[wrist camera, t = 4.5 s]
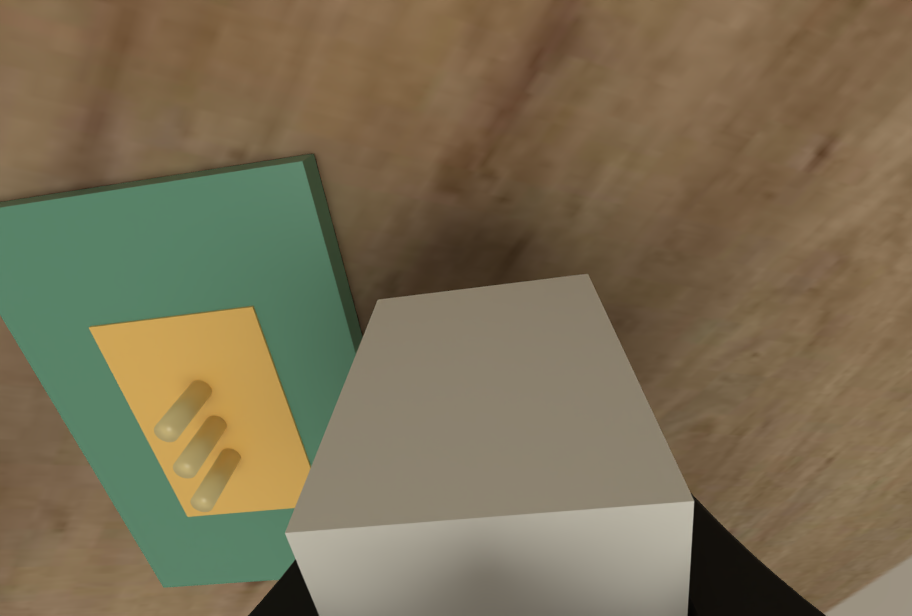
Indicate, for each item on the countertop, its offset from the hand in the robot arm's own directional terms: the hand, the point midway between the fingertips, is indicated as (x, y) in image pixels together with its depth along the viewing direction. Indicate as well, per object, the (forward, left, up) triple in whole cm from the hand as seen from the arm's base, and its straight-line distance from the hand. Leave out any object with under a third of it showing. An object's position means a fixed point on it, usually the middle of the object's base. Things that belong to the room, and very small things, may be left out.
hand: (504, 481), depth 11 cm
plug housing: (0, 0, -2) cm, 2 cm away
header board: (+11, +3, -8) cm, 14 cm away
